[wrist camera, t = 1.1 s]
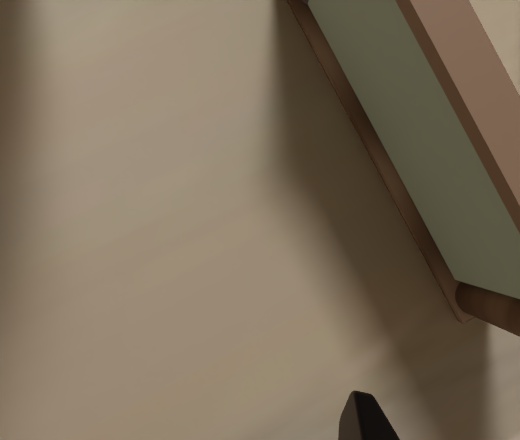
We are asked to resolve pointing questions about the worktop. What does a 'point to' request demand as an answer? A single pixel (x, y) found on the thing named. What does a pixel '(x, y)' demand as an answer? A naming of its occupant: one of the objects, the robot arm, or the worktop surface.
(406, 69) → the gate
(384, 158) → the gate frame
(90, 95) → the worktop surface
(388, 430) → the robot arm
